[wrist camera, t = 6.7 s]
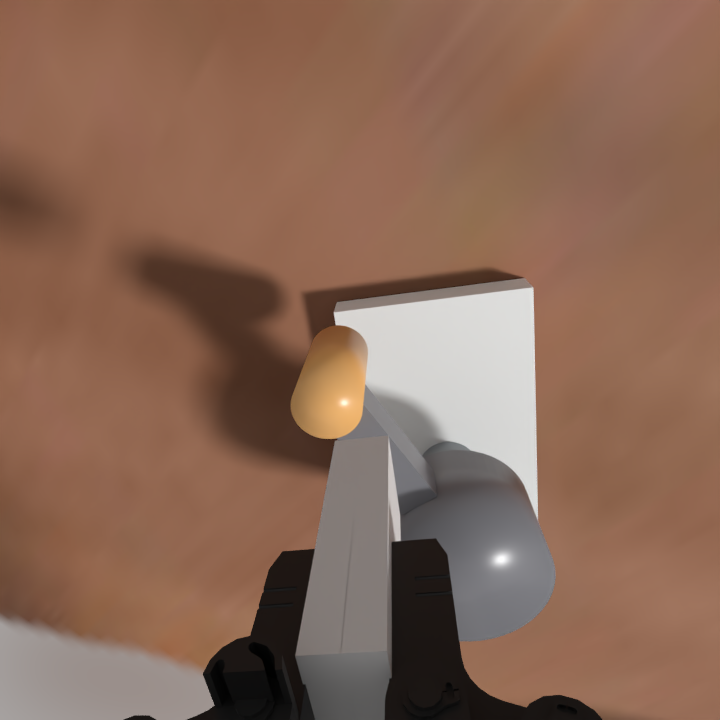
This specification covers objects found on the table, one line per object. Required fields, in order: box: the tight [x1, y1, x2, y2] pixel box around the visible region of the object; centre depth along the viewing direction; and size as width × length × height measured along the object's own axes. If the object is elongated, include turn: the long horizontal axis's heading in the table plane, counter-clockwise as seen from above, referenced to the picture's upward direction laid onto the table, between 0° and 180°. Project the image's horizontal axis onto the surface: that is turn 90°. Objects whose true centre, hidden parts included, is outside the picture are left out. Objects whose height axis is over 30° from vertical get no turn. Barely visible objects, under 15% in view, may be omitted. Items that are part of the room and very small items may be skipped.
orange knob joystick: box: [291, 325, 555, 641], centre depth 26 cm, size 16×8×6 cm, turn 36°
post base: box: [334, 278, 538, 520], centre depth 32 cm, size 22×11×6 cm, turn 8°
